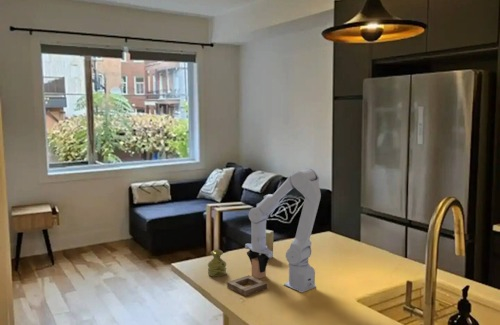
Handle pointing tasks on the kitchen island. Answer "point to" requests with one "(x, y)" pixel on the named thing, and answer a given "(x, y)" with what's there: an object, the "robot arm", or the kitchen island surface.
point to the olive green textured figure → (217, 264)
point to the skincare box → (269, 240)
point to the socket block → (256, 287)
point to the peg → (257, 269)
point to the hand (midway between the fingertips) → (258, 270)
